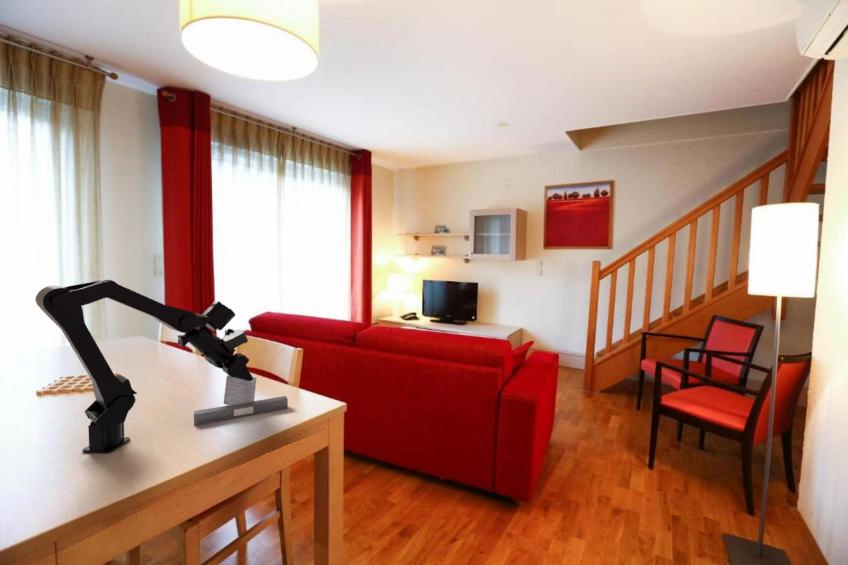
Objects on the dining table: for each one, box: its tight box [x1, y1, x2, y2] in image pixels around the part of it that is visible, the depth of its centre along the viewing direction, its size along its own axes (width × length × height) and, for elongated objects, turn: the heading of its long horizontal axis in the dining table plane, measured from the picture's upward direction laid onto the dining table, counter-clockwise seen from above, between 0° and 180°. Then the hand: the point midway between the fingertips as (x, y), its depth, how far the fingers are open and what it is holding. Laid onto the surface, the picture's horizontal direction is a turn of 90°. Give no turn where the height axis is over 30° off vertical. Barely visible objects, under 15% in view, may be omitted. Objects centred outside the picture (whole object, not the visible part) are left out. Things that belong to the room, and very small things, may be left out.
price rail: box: [193, 395, 289, 426], centre depth 111 cm, size 24×3×3 cm, turn 123°
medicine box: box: [223, 374, 257, 406], centre depth 118 cm, size 8×4×9 cm, turn 65°
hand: (246, 376), depth 118 cm, fingers open, 8 cm apart
